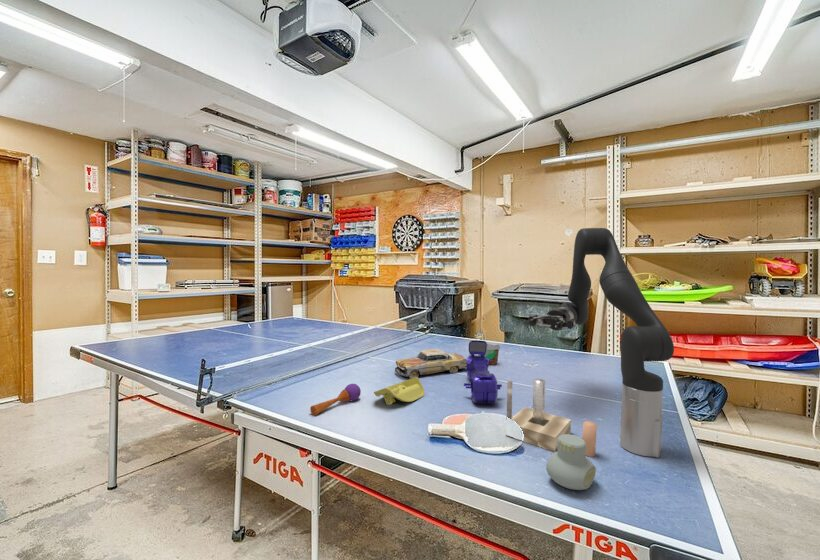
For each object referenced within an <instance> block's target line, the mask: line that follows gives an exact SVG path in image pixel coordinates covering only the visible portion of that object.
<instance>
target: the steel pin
mask: <svg viewBox="0 0 820 560" xmlns="http://www.w3.org/2000/svg"><path fill="white" fill-rule="evenodd" d="M532 396H533V397H532V402H533V403H532V409H533V423H535V424H538V425H541V426H544V417H545V413H546V412H545V411H546V410H545V408H546V380H545V379H543V378H534V379H533V395H532Z"/></svg>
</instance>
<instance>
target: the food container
mask: <svg viewBox="0 0 820 560" xmlns="http://www.w3.org/2000/svg"><path fill="white" fill-rule="evenodd" d="M500 346H501V345H500V344H490V343H487V349H486V354H485V355H484V356H485V357H486V359H487V358H488V359H489V360H493V361H489V363H488V365H489V367H490V366H497V365H498V359H499V351H500V349H501V347H500ZM477 355H480V354H477Z"/></svg>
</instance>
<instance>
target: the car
mask: <svg viewBox="0 0 820 560" xmlns="http://www.w3.org/2000/svg"><path fill="white" fill-rule="evenodd" d="M463 359H467V358H465V357H464V356H463V355H461V354H458V353H455V352H452V353H447V352H446V351H444V350H441V349H438V348H431V349H430V348H429V349H423V350H421V351H420V352H419V354H417V356H415V357H410V358H403V359H396V361H395V364H396V367H395V368H394V372H396V374H397V375H399V376H403V377H405V378H408V377H409V379H412V378H415V377H417V378H419V376H422V375H431V374H436V373H441V372H442V373H443V372H445V371H449V373H450V374H451V373H452V374H455V373H457V372H458V370H459V369H460V370H461V369H464V368H466V369H467V360H463Z"/></svg>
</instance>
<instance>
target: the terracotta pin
mask: <svg viewBox="0 0 820 560" xmlns="http://www.w3.org/2000/svg"><path fill="white" fill-rule="evenodd" d="M582 424H583V426H582V437H581V438H582V439H583V440H584V441H585V443H586V457H591V458H592V457H593V458H594V457H596V448H597V446H596V445H597V430H598V424H597V423H595V422H593V421H589V420H586V421H583V423H582Z"/></svg>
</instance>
